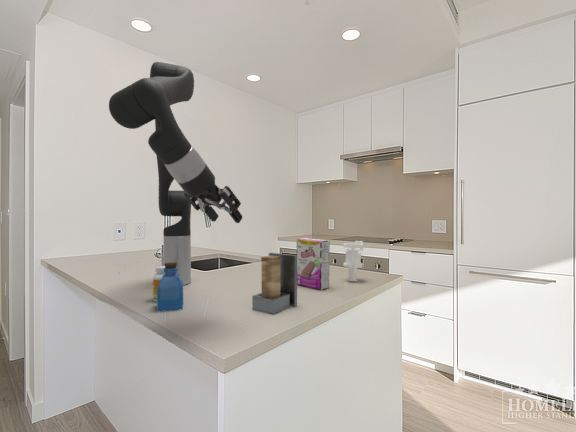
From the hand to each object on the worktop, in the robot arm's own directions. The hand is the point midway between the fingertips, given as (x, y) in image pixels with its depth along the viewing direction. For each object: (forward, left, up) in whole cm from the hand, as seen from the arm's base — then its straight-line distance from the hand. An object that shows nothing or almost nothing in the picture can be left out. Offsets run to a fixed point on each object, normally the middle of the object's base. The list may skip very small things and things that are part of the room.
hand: (227, 219), depth 80 cm
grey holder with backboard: (+6, +11, -24) cm, 27 cm away
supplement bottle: (-25, -2, -24) cm, 35 cm away
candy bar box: (+3, +37, -24) cm, 44 cm away
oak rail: (+6, +10, -23) cm, 26 cm away
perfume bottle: (-17, -5, -24) cm, 30 cm away
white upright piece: (+11, +53, -24) cm, 59 cm away
